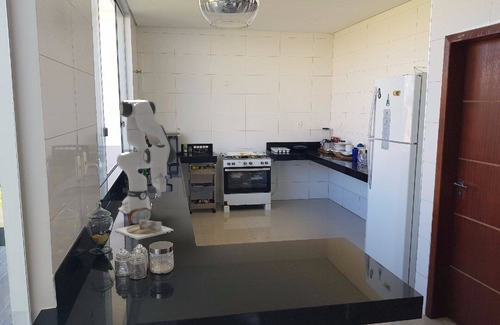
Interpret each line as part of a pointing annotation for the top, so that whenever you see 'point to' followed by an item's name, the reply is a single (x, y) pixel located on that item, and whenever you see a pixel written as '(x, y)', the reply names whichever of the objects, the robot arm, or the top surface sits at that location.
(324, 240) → the top surface
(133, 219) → the bread slice
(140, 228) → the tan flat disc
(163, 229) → the white flat square board
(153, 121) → the robot arm
